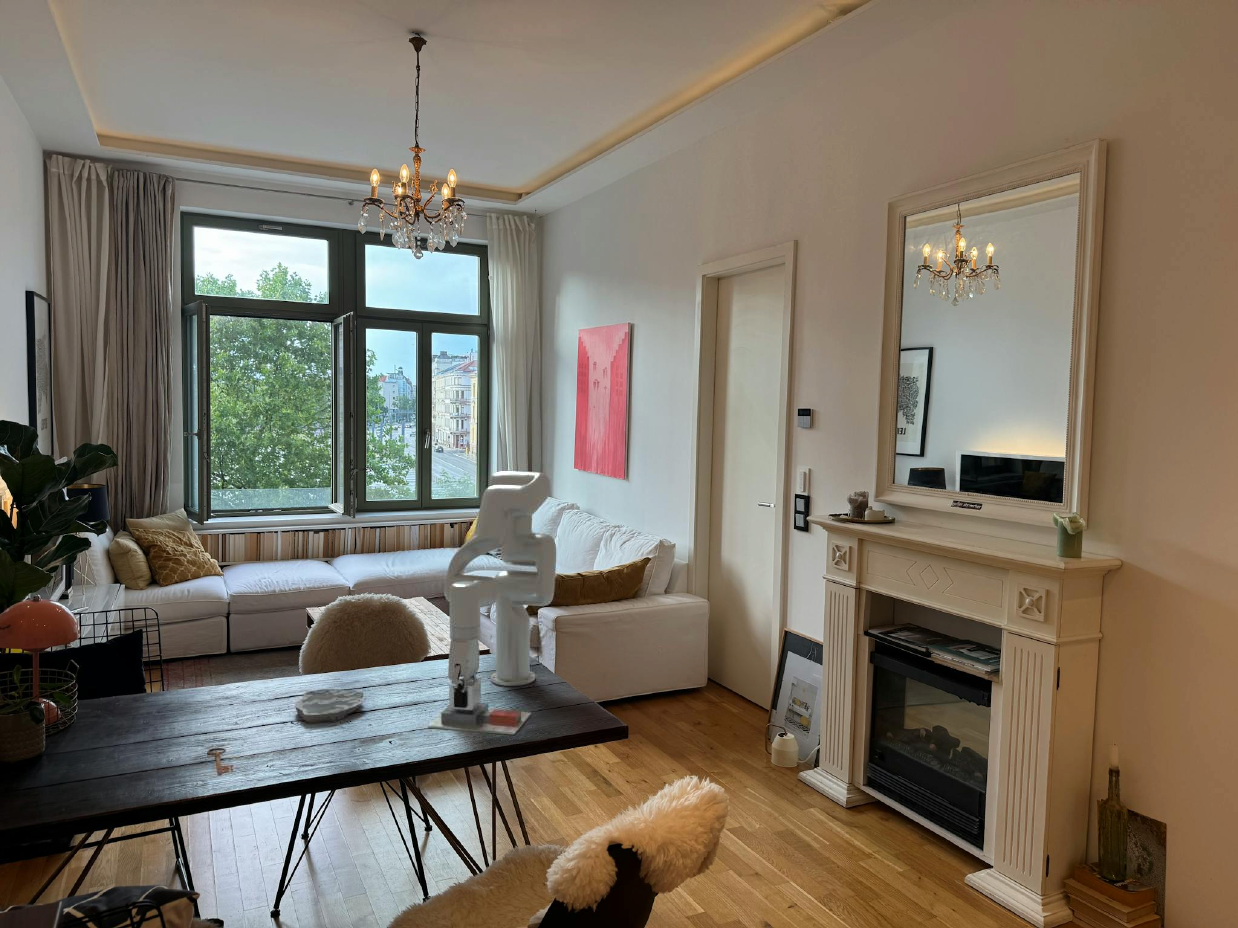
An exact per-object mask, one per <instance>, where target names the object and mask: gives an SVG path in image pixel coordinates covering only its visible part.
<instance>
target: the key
mask: <svg viewBox="0 0 1238 928" xmlns="http://www.w3.org/2000/svg"><path fill="white" fill-rule="evenodd" d="M218 750H219V751H218ZM220 750H222V751H220ZM213 751H215V752H213ZM226 752H227V750H226V748H221V747H214V748H210V749H208V750H207V754H208V755H211V756H215V758H214V759H215V763H216V772H217V776H221V775H223V774H227V773H230V772H231V773H232V772H234V771H233V770H234V764H231V765H222V764H221V756H220V755H221V754H224V753H226Z"/></svg>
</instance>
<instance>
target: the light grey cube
mask: <svg viewBox="0 0 1238 928" xmlns="http://www.w3.org/2000/svg"><path fill="white" fill-rule="evenodd" d="M463 678H464V677H459V679H463ZM476 678H477V677H476ZM476 678H469V679H468V680H467V682H466V690H465V691H466V692H467V707H466V708H458V707H454V692H453V685H452V682H450V683H449V684H448V685H449V686H448V687H449V688H448V691H449V693H448V696H449V698H448V699H449V704H448V706H449V708H450V709H463V710H473V709H474V708H475V707H476V706H477V705H478V704H479V703H482V702H481V700H482V699H481V697H482V695H481V693H482V692H481V691H482V689H481V687H482V686H481V685H482V684H481V683H482V680H481V678H477V679H476ZM459 683H460V684H461V685H463V682H460V681H459Z"/></svg>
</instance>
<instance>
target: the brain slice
mask: <svg viewBox="0 0 1238 928" xmlns="http://www.w3.org/2000/svg"><path fill="white" fill-rule="evenodd" d="M366 699H367V698H366V697H364V693H363V692H362V691H356V690H353V689H352V690H351V689H349V690H346V689H336V688H335V689H334V688H321V689H316V690H310V691H306V692H304V693H303V696H302V698H301V699H299V700H298V701H296V702H295V703H294V704H295V710H296V713H297V714H298V715H299V716H300V717H301V718H302V719H303V720H304V721H305V722H306V723H312V724H313V723H314V724H315V723H321V722H335V721H337V720H342V719H343V718H344V717H346V716H348V715H349V714H352V713H354V712H355V711H357V709H359V708H360V707H361V706H362V704H363V703H364V702H365V701H366Z"/></svg>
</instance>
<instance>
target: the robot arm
mask: <svg viewBox="0 0 1238 928" xmlns="http://www.w3.org/2000/svg"><path fill="white" fill-rule="evenodd" d="M550 492H551V481H550V478H549V476H548V475H547V474H546V473H545V472H540V471H519V470H501V471H497V472H494V473H493V474H492V475H491V476H490V479H489V486H488V487H487V488H486V489H485V490H484V492H483V494H482V498H481V502H480V506H479V511H478V513H477V517H476V518H477V520H476V523H475V528H474V532H473V535H472V537H471V538H469V539H468V540H467V541H466V542H465V543H464V544H463V545H462V546H461V547H460V548H459V549H458V550H457V551H456V552H455V553H454V555H453V556H452V558H451V560H450V562H449V564H448V569H447V571H446V576H445V579H444V587H443V592H444V597H445V599H446V601H448V602H449V640H450V644H449V650H448V651H449V652H448V667H447V669H448V670H447V671H448V673H447V675H448V677H447V678H448V679H449V680H451V683H452V685H453V692H454V707H458V708H466V707H467V692H466V691H465V690H466V682H467V680H468V679H469V678H476V679H478V678H477V675H478V671H479V669H480V643H479V641H480V640H479V639H480V638H481V608H484V607H485V608H486V607H490V606H492V605H494V604H495V617H496V618H495V619H496V623H495V625H496V629H495V630H496V631H495V632H496V633H495V635H496V636H495V637H496V640H495V642H496V643H495V647H496V649H495V651H496V652H495V654H496V657H495V660H496V664H495V667H496V668H495V669H496V670H495V672H493V673H492V674H491V675H490V681H491V682H492V683H494V684H495V685H499V686H505V687H514V686H515V687H516V686H524V685H529V684H530V683H532V682H534V681H535V679H536V674H535V673H534V672H532V671H531V670H530V669H531V667H530V666H531V664H530V662H531V661H530V660H531V659H530V658H531V655H530V652H531V651H530V648H531V646H530V643H531V640H530V638H531V637H530V636H531V634H530V633H531V632H530V631H531V628H530V626H531V621H530V616H529V613H528V611H527V610H526V607H525V606H534V607H535V606H536V607H538V606H539V607H544V606H548V605H550V604H551V602H552V601H553V599H554V596H555V595H554V594H555V586H556V585H555V584H556V583H555V582H556V568H557V567H556V566H557V546H556V541H555V539H554V537H553V536H551V535H550V534H548V533H539V532H533V530H532V529H533V528H532V526H533V515H534V514H536V512H537V511H538V510H539V508H540V507H542V506H543V504H544V503H545V502H546V501H547V499H548V498H549V495H550ZM499 548H500V558H501V560H502V562H503V563H504V564H506V565H510V566H519V567H520V566H521V567H531V568H532V567H533V568H536V571H533V570H532V571H530V570H520V569H519V570H517V569H509V570H508V569H507V570H502V571H499V572H498V573H497V574H496V575H495V576H494V577H493V576H492V577H491V576H483V575H473V574H464V572H465V570H466V568H467V567H468V565H469V564H470V563H471V562H472V561H474V560H475V559H477V558H478V557H480V556H483V555H486V554H487V553H490V552H493V551H495V550H498V549H499ZM459 677H462V678H463V679H459ZM459 681H460V682H463V685H461V684H460V683H459Z"/></svg>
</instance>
